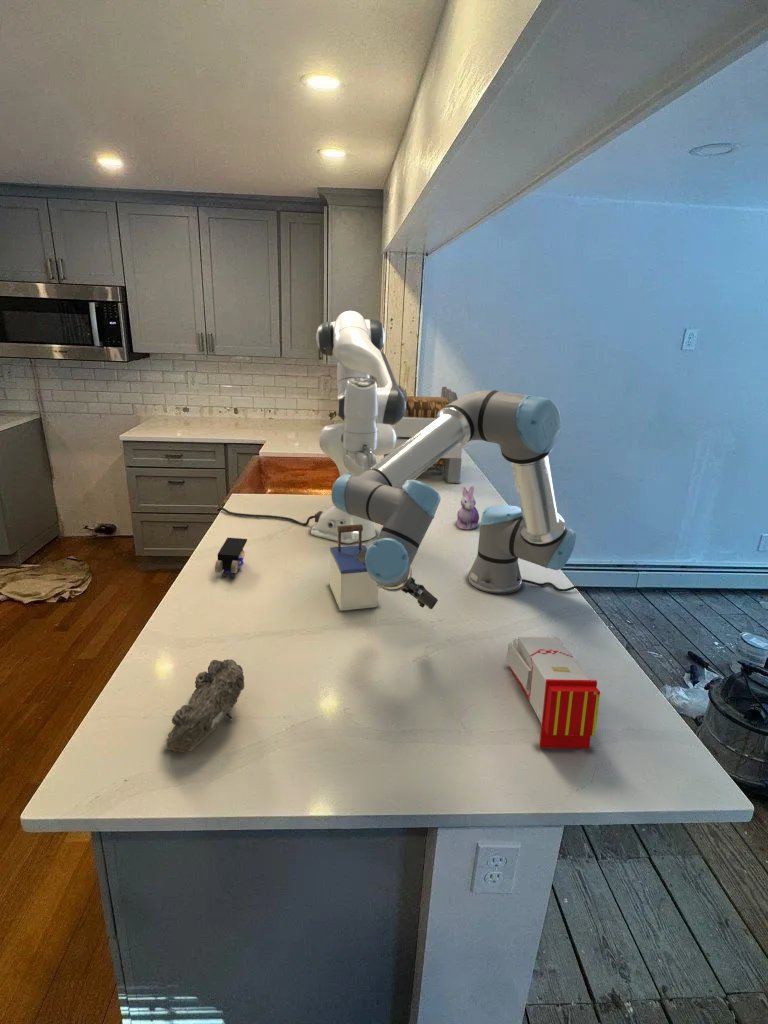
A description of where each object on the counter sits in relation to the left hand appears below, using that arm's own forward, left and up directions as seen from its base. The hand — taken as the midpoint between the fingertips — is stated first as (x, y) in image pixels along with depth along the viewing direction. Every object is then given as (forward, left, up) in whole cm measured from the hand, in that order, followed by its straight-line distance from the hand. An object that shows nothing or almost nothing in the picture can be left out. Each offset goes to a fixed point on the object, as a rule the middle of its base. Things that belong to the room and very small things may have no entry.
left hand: (359, 491), depth 153 cm
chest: (+1, -7, -28) cm, 29 cm away
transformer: (-9, +122, -28) cm, 125 cm away
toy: (+52, -36, -28) cm, 69 cm away
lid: (+1, -7, -17) cm, 18 cm away
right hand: (+18, -23, -13) cm, 32 cm away
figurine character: (-37, -4, -28) cm, 47 cm away
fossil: (-8, -62, -28) cm, 68 cm away
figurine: (+23, +59, -28) cm, 70 cm away
